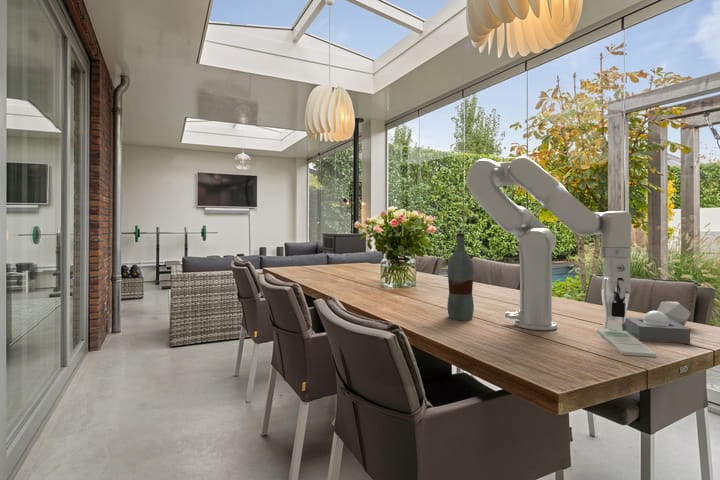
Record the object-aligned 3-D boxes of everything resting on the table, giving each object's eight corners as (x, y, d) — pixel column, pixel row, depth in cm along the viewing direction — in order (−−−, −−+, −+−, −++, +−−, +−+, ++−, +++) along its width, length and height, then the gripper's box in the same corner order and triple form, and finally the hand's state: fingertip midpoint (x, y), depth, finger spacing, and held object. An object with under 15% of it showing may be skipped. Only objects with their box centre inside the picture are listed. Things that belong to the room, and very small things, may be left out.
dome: (647, 333, 117) (648, 312, 117) (640, 328, 123) (640, 308, 123) (672, 334, 116) (672, 313, 116) (663, 329, 121) (663, 309, 121)
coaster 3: (621, 354, 103) (621, 351, 103) (612, 346, 110) (612, 343, 110) (656, 357, 101) (656, 353, 101) (644, 348, 108) (645, 345, 108)
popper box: (639, 340, 116) (639, 326, 115) (625, 330, 127) (625, 317, 127) (690, 343, 112) (690, 329, 112) (671, 332, 123) (671, 319, 123)
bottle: (441, 316, 147) (441, 233, 146) (460, 314, 152) (460, 233, 151) (460, 321, 139) (460, 233, 138) (479, 318, 144) (479, 233, 143)
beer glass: (595, 326, 124) (596, 276, 123) (617, 325, 125) (618, 276, 124) (611, 332, 117) (612, 279, 116) (634, 331, 118) (635, 279, 117)
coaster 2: (612, 345, 111) (612, 342, 111) (604, 338, 118) (604, 335, 118) (644, 347, 108) (644, 344, 108) (634, 340, 116) (634, 337, 116)
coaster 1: (603, 337, 118) (603, 335, 118) (597, 331, 125) (597, 328, 125) (633, 339, 116) (633, 337, 116) (625, 333, 123) (625, 330, 123)
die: (691, 332, 126) (700, 306, 129) (664, 318, 127) (673, 292, 130) (671, 335, 134) (680, 310, 136) (646, 322, 135) (655, 297, 138)
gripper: (641, 255, 111) (639, 321, 111) (620, 251, 127) (619, 309, 128) (609, 255, 113) (608, 319, 114) (593, 251, 129) (592, 307, 130)
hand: (614, 313), depth 121 cm, fingers closed on beer glass, 6 cm apart
